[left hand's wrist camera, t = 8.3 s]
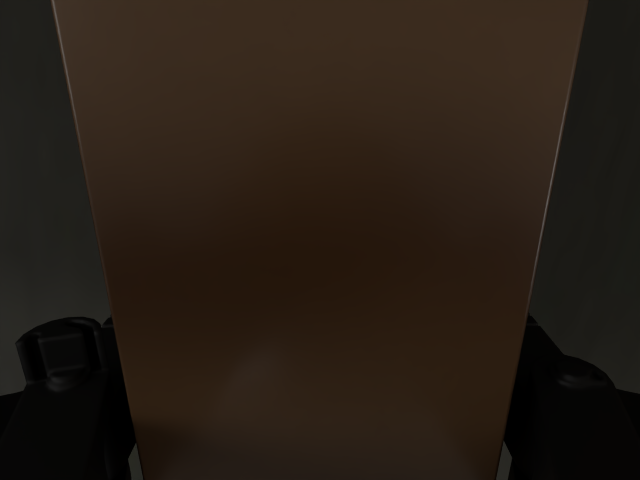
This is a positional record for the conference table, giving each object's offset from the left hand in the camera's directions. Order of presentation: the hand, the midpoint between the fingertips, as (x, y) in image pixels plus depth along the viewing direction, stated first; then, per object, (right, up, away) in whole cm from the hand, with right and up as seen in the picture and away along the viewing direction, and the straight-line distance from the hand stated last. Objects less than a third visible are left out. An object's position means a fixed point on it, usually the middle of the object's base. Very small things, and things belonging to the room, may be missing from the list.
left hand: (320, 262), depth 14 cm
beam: (0, +24, -9) cm, 25 cm away
